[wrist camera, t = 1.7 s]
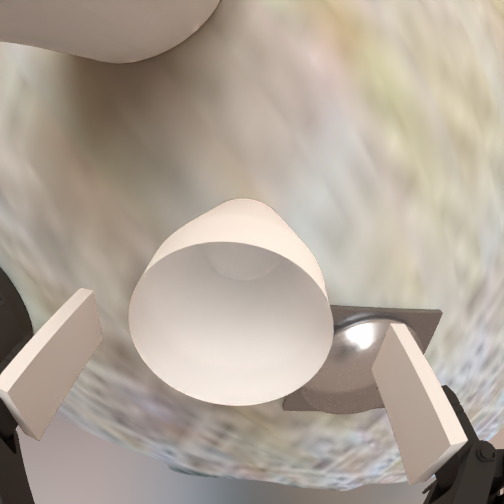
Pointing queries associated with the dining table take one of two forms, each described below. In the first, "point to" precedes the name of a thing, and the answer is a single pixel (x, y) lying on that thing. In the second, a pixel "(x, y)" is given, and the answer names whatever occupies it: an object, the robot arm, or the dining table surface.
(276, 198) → the dining table surface
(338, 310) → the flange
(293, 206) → the dining table surface
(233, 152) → the dining table surface
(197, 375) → the cup
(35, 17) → the utensil holder
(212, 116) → the dining table surface
